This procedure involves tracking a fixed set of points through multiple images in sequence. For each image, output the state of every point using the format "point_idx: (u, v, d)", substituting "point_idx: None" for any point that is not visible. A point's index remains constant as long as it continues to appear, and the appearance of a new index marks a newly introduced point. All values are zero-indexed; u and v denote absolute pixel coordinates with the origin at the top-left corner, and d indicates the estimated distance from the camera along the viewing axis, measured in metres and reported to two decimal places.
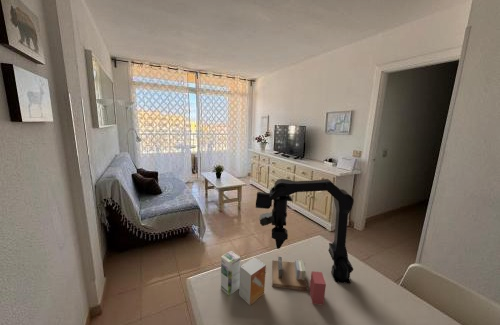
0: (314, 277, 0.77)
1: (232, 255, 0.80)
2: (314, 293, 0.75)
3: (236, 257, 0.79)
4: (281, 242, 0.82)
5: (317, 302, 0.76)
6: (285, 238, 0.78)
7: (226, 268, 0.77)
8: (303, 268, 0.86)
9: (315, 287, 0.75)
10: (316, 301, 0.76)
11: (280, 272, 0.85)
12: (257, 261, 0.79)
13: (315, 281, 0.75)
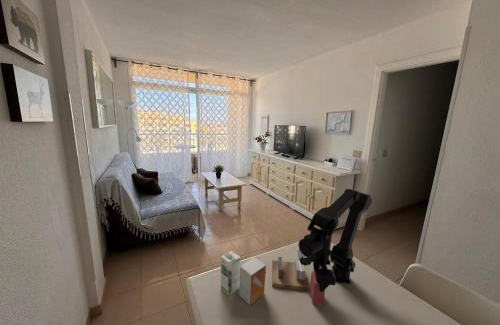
0: (314, 277, 0.77)
1: (232, 255, 0.80)
2: (314, 293, 0.75)
3: (236, 257, 0.79)
4: (326, 285, 0.71)
5: (317, 302, 0.76)
6: (333, 283, 0.67)
7: (226, 268, 0.77)
8: (303, 268, 0.86)
9: (315, 287, 0.75)
10: (316, 301, 0.76)
11: (280, 272, 0.85)
12: (257, 261, 0.79)
13: (315, 281, 0.75)
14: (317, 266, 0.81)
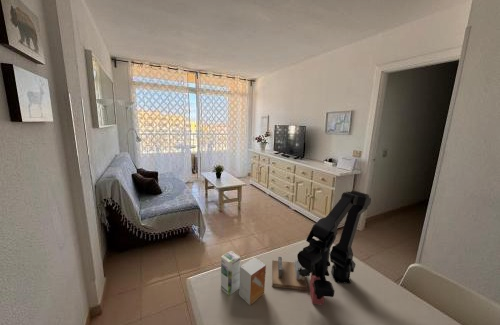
0: (314, 277, 0.77)
1: (232, 255, 0.80)
2: (314, 293, 0.75)
3: (236, 257, 0.79)
4: None
5: (317, 302, 0.76)
6: (332, 295, 0.68)
7: (226, 268, 0.77)
8: None
9: None
10: (316, 301, 0.76)
11: (280, 272, 0.85)
12: (257, 261, 0.79)
13: None
14: None
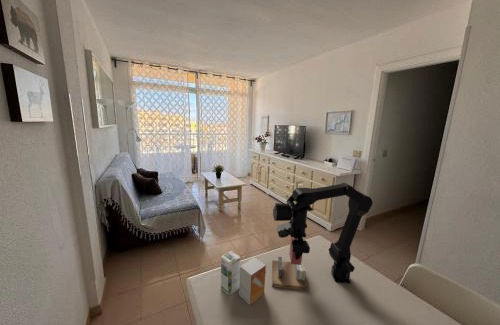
0: None
1: (232, 255, 0.80)
2: (292, 254, 0.81)
3: (236, 257, 0.79)
4: (301, 253, 0.79)
5: (295, 262, 0.82)
6: (307, 252, 0.74)
7: (226, 268, 0.77)
8: (303, 268, 0.86)
9: None
10: (294, 261, 0.82)
11: (280, 272, 0.85)
12: (257, 261, 0.79)
13: None
14: None
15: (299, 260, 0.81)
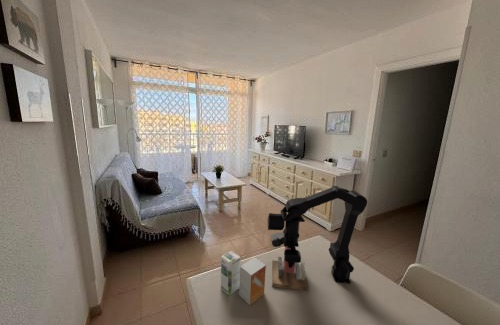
0: None
1: (232, 255, 0.80)
2: (286, 262, 0.85)
3: (236, 257, 0.79)
4: (293, 261, 0.83)
5: (288, 270, 0.86)
6: (298, 261, 0.77)
7: (226, 268, 0.77)
8: (303, 268, 0.86)
9: None
10: (288, 269, 0.86)
11: (280, 272, 0.85)
12: (257, 261, 0.79)
13: None
14: None
15: (292, 268, 0.85)
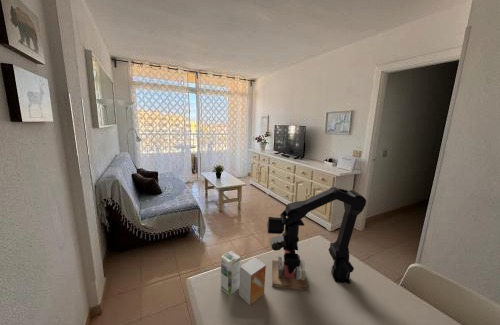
0: None
1: (232, 255, 0.80)
2: (285, 268, 0.86)
3: (236, 257, 0.79)
4: (293, 267, 0.82)
5: (288, 275, 0.86)
6: (298, 265, 0.78)
7: (226, 268, 0.77)
8: (303, 268, 0.86)
9: None
10: (287, 275, 0.86)
11: (280, 272, 0.85)
12: (257, 261, 0.79)
13: None
14: None
15: (291, 273, 0.86)
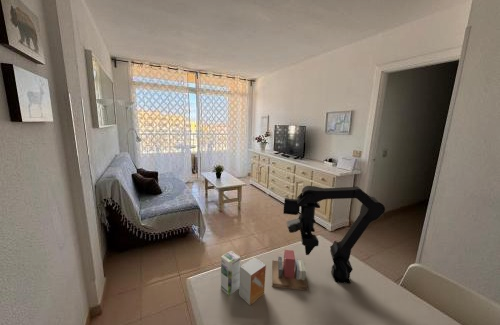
0: (286, 254, 0.88)
1: (232, 255, 0.80)
2: (285, 268, 0.86)
3: (236, 257, 0.79)
4: (311, 248, 0.83)
5: (288, 275, 0.86)
6: (316, 245, 0.79)
7: (226, 268, 0.77)
8: (303, 268, 0.86)
9: (286, 262, 0.85)
10: (287, 275, 0.86)
11: (280, 272, 0.85)
12: (257, 261, 0.79)
13: (286, 257, 0.86)
14: None
15: (291, 273, 0.86)
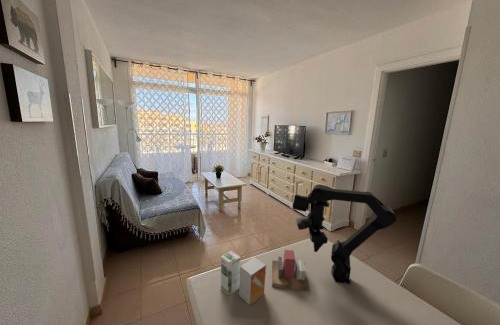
0: (286, 254, 0.88)
1: (232, 255, 0.80)
2: (285, 268, 0.86)
3: (236, 257, 0.79)
4: (319, 245, 0.85)
5: (288, 275, 0.86)
6: (325, 242, 0.81)
7: (226, 268, 0.77)
8: (303, 268, 0.86)
9: (286, 262, 0.85)
10: (287, 275, 0.86)
11: (280, 272, 0.85)
12: (257, 261, 0.79)
13: (286, 257, 0.86)
14: None
15: (291, 273, 0.86)
